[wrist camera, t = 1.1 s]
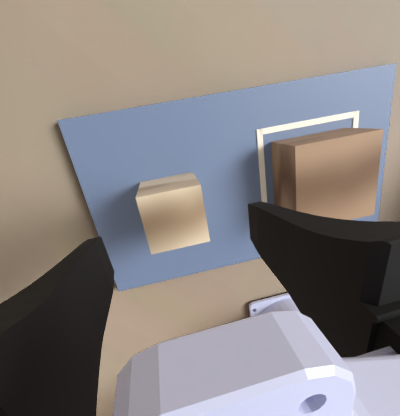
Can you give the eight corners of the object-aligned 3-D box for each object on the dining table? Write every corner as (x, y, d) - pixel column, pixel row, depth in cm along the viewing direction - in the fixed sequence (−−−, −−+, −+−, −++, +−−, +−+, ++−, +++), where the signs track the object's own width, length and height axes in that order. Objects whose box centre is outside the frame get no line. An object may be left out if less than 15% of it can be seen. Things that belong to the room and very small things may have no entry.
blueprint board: (370, 227, 27) (377, 230, 26) (119, 286, 24) (118, 292, 23) (388, 65, 21) (397, 62, 20) (61, 120, 18) (56, 120, 18)
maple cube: (200, 218, 22) (210, 241, 18) (152, 229, 22) (151, 254, 18) (192, 171, 21) (200, 184, 16) (140, 182, 20) (135, 197, 16)
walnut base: (340, 200, 24) (374, 214, 20) (274, 214, 23) (296, 232, 20) (344, 127, 21) (383, 128, 18) (271, 141, 21) (295, 146, 17)
